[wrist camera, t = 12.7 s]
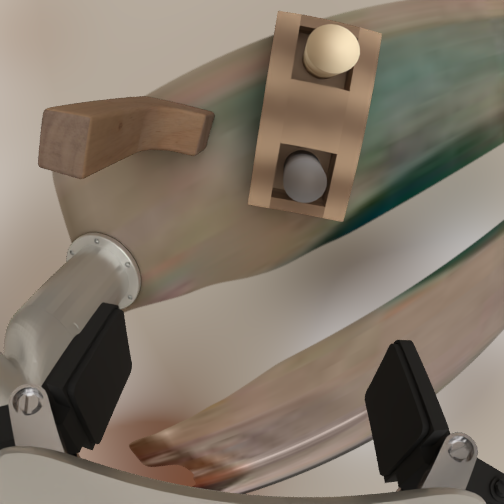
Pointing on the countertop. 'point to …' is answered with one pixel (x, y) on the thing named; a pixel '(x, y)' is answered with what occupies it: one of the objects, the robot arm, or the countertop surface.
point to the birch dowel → (330, 51)
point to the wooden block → (117, 132)
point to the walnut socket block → (311, 124)
